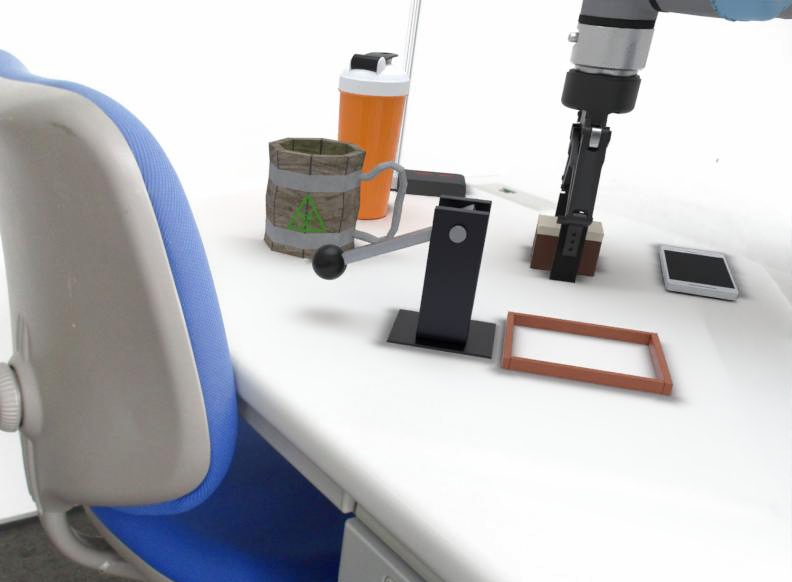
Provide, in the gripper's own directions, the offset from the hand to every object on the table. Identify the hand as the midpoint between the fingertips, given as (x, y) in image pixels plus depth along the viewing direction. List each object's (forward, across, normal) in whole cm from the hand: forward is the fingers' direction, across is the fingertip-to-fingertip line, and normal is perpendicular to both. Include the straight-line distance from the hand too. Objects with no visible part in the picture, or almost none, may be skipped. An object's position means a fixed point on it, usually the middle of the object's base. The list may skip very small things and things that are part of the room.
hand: (560, 264), depth 101 cm
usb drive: (0, -28, -19) cm, 34 cm away
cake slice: (0, 0, 0) cm, 0 cm away
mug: (0, +8, -26) cm, 27 cm away
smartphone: (0, -3, +15) cm, 15 cm away
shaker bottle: (0, -12, -26) cm, 29 cm away
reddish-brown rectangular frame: (0, +29, +1) cm, 29 cm away
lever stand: (0, +29, -11) cm, 31 cm away
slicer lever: (-7, +29, -16) cm, 34 cm away
